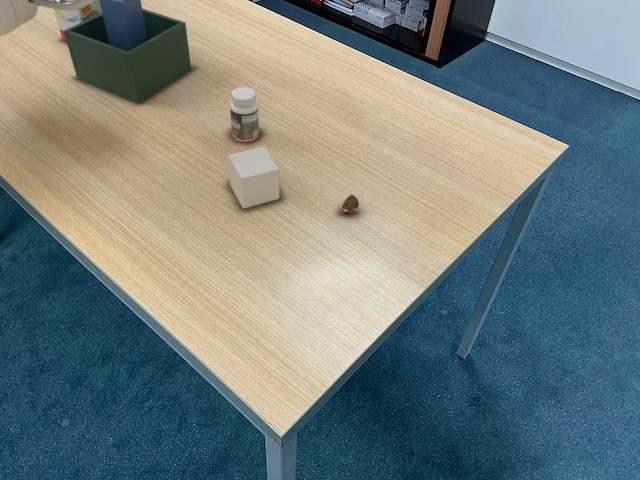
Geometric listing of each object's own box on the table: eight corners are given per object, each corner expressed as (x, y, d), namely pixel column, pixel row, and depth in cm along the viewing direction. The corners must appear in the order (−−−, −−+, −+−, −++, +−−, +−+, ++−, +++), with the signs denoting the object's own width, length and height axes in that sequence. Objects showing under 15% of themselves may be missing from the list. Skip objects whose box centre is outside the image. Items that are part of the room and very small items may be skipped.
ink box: (89, 51, 114) (74, -6, 106) (61, 40, 117) (44, -17, 109) (120, 37, 120) (108, -19, 111) (92, 26, 122) (78, -29, 114)
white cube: (243, 209, 83) (241, 178, 79) (230, 185, 87) (227, 155, 83) (279, 198, 85) (279, 168, 81) (265, 176, 89) (264, 146, 85)
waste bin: (77, 79, 107) (63, 30, 100) (133, 48, 116) (123, 2, 109) (138, 103, 102) (128, 54, 95) (191, 69, 112) (185, 22, 105)
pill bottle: (228, 130, 97) (224, 88, 91) (252, 124, 99) (251, 83, 93) (237, 145, 95) (235, 103, 89) (263, 138, 96) (261, 97, 90)
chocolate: (348, 220, 83) (350, 200, 80) (338, 212, 84) (340, 193, 81) (361, 211, 84) (364, 192, 82) (351, 204, 85) (353, 184, 83)
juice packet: (116, 75, 107) (98, -2, 96) (132, 61, 111) (116, -15, 100) (137, 79, 106) (121, 2, 95) (152, 65, 110) (138, -11, 99)
